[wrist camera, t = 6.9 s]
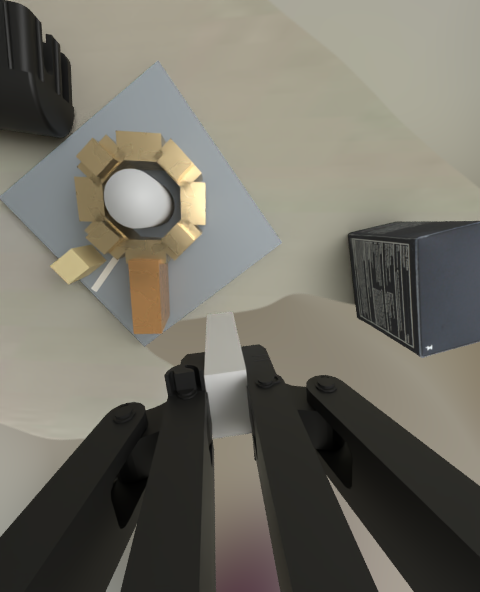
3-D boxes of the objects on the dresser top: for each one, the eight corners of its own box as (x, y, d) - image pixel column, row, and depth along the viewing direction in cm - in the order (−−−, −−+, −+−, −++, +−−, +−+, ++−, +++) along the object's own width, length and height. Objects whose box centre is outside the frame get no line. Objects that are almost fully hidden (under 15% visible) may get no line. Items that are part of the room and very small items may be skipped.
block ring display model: (10, 198, 26) (-82, 188, 18) (161, 69, 25) (136, -5, 16) (147, 340, 31) (125, 383, 23) (278, 241, 30) (304, 249, 22)
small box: (406, 306, 34) (489, 343, 24) (355, 319, 33) (418, 362, 23) (401, 219, 31) (495, 218, 21) (346, 232, 30) (413, 238, 20)
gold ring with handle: (90, 142, 24) (57, 120, 19) (205, 149, 25) (204, 130, 20) (108, 315, 28) (85, 336, 23) (206, 314, 29) (205, 334, 24)
